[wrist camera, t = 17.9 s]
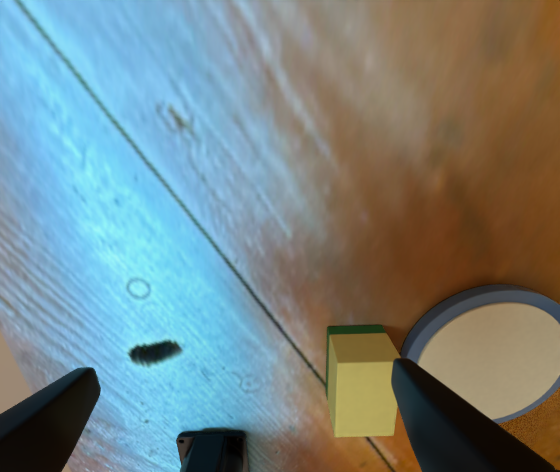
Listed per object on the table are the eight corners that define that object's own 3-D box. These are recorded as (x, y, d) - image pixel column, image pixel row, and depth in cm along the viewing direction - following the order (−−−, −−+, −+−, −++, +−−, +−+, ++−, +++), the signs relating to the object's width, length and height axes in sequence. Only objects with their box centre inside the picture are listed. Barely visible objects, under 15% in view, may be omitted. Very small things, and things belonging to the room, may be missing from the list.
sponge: (375, 390, 24) (394, 436, 20) (325, 392, 24) (334, 437, 20) (381, 324, 22) (404, 361, 18) (327, 326, 22) (337, 363, 18)
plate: (540, 415, 25) (553, 427, 23) (391, 419, 25) (396, 432, 24) (588, 280, 20) (607, 288, 19) (408, 286, 20) (415, 294, 19)
